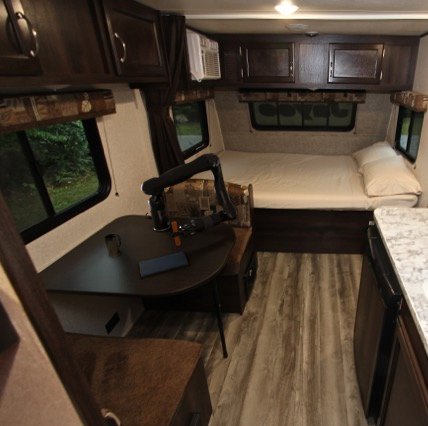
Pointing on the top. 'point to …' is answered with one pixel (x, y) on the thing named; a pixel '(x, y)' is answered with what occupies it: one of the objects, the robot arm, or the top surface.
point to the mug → (113, 244)
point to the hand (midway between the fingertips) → (170, 234)
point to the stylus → (177, 239)
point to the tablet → (163, 264)
